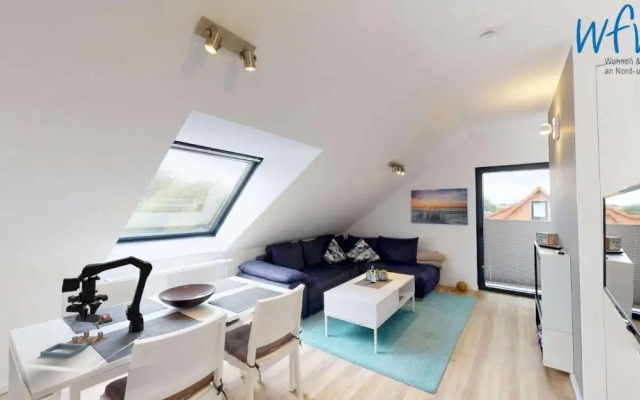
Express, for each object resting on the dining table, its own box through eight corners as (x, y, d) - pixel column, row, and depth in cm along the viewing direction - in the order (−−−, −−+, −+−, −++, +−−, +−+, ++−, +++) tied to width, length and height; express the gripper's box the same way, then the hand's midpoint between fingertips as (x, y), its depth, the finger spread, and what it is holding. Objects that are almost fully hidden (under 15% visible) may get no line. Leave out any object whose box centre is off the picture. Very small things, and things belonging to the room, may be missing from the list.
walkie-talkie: (91, 321, 173) (96, 332, 159) (91, 314, 173) (96, 324, 159) (108, 317, 179) (115, 327, 165) (108, 310, 179) (115, 320, 165)
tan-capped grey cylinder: (99, 321, 148) (100, 313, 148) (93, 324, 144) (93, 316, 144) (80, 319, 149) (80, 312, 149) (72, 322, 145) (73, 314, 145)
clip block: (108, 340, 150) (108, 332, 150) (95, 347, 142) (95, 339, 142) (80, 337, 152) (81, 330, 152) (66, 345, 144) (66, 337, 144)
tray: (86, 350, 139) (86, 345, 139) (68, 360, 130) (69, 354, 130) (59, 348, 140) (59, 342, 140) (40, 358, 132) (40, 352, 132)
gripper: (90, 283, 157) (89, 311, 157) (56, 294, 138) (55, 326, 138) (109, 284, 156) (108, 313, 156) (77, 295, 137) (75, 327, 137)
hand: (87, 319), depth 147 cm, fingers closed on tan-capped grey cylinder, 4 cm apart
